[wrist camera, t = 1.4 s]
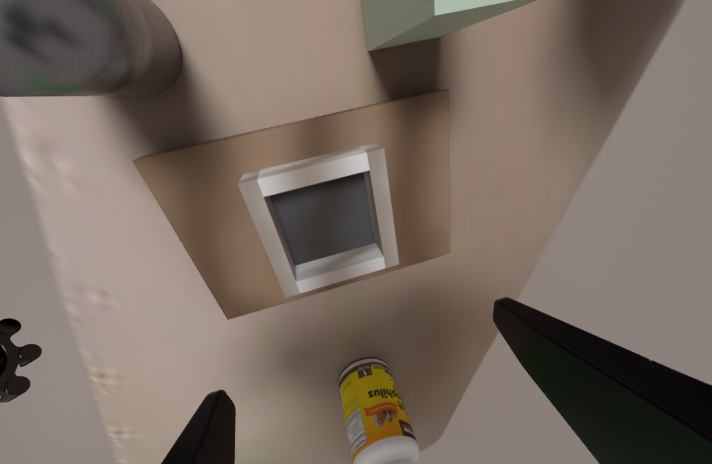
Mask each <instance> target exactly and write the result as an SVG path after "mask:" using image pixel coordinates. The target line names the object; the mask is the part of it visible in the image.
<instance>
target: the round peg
mask: <svg viewBox="0 0 712 464" xmlns="http://www.w3.org/2000/svg"><path fill="white" fill-rule="evenodd" d="M181 61H182V56H181V48H180V44H179V41H178V37H177V35H176V33H175V30H174V29H173V27H172V25H171V23H170V22H169V20H168V19H167V17H166V16H165V15H164V13H163V12H162V11H161V10H160V9H159V8H158V7H157V6H156V5H155V4H154V3H153V2H152V1H151V0H0V96H3V97H21V96H147V95H155V94H158V93H161V92H163V91H165V90H167V89H168V88H169V87H170V86H172V84H173V83H174V82H175V81H176V79H177V77H178V75H179V72H180V69H181Z"/></svg>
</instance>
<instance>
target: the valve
mask: <svg viewBox="0 0 712 464" xmlns="http://www.w3.org/2000/svg"><path fill="white" fill-rule="evenodd" d="M20 328H21V324H20V322H19V321H18V320H16V319H11V318H9V319H3V320H1V321H0V396H1V398H0V402H2V403H3V402H8V401H11V400H13V399H14V398H16V397H18V396H20V395H21V394H23V393H25V392H26V391H27V390H28V389H29V387H30V381H29V379H27V378H26V377H23V376H16V374H15V371H16V368H17V366H18V364H20V367H23V366H25V365H27V364H28V363H30V362H32V361H34V360H35V359H37V358H38V357H39V356H40V355H41V353H42V350H41V348H40V347H39V346H38V345H35V344H28V345H25V346H23V347H17V346H15V345H14V344H13V343H12V342H11V340H10V337H11V336H12V335H13V334H15V333H17V332H18V331H19V330H20Z"/></svg>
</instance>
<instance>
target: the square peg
mask: <svg viewBox="0 0 712 464" xmlns="http://www.w3.org/2000/svg"><path fill="white" fill-rule="evenodd" d="M534 1H537V0H361V5H362V12H363V19H364V27H365V34H366V42H367V49H368V51H373V50H378V49H383V48H388V47H392V46H397V45H402V44H407V43H412V42H417V41H422V40H427V39H432V38H437V37H441V36H444V35H447V34H449V33H452V32H455V31H457V30H460V29H462V28H465V27H468V26H470V25H473V24H476V23H478V22H481V21H484V20H486V19H489V18H492V17H494V16H497V15H500V14H502V13H505V12H508V11H510V10H513V9H515V8H518V7H521V6H523V5H526V4H529V3H531V2H534Z"/></svg>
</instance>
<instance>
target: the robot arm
mask: <svg viewBox="0 0 712 464" xmlns="http://www.w3.org/2000/svg"><path fill="white" fill-rule="evenodd" d="M493 320H494V323H495V325H496V326H497V328H498V329H499V331H500V333H501V334H502V336H503V337H504V339H505V340H506V342H507V343H508V345H509V346H510V348H511V349H512V351H513V353H514V354H515V356H516V357H517V359H518V360H519V362H520V363H521V364H522V366H523V367H524V369H525V370H526V371H527V373H528V374H529V375H530V376H531V378H532V379H533V380H534V381H535V383H536V384H537V385H538V386H539V388H540V389H541V390H542V392H543V393H544V394H545V395H546V397H547V398H548V399H549V400H550V402H551V403H552V404H553V406H554V407H555V408H556V409H557V411H558V412H559V413H560V414H561V416H562V417H563V418H564V419H565V421H566V422H567V423H568V425H569V426H570V427H571V428H572V430H573V431H574V432H575V433H576V435H577V436H578V437H579V438H580V440H581V441H582V442H583V443H584V444H585V446H586V447H587V449H588V450H589V451H590V452H591V454H592V455H593V456H594V457H595V459H596V460H597V461H598V462H599V464H712V385H710V384H707V383H704V382H702V381H700V380H697V379H695V378H692V377H690V376H688V375H685V374H683V373H681V372H678V371H676V370H673V369H671V368H669V367H666V366H664V365H662V364H660V363H657V362H655V361H650V360H649V359H648V358H646V357H643V356H641V355H639V354H636V353H634V352H632V351H630V350H627V349H625V348H623V347H621V346H618V345H616V344H613V343H611V342H609V341H607V340H605V339H602V338H600V337H598V336H595V335H593V334H591V333H588V332H586V331H584V330H582V329H579V328H577V327H574V326H572V325H570V324H568V323H565V322H563V321H561V320H559V319H556V318H554V317H552V316H550V315H547V314H545V313H543V312H540V311H538V310H536V309H534V308H531V307H529V306H527V305H524V304H522V303H520V302H517V301H515V300H513V299H511V298H507V297H505V298H501V299H498V300H496V301H495V302H494V310H493ZM235 416H236V410H235V405H234V403H233V402H232V400H231V399H230V398H229V396H228V395H227V394H226V392H225V391H224V390H218V391H215V392H212V393H210V394H208V395H207V396H206V397H205V399H204V400H203V402H202V403H201V405H200V406H199V408H198V409H197V411H196V412H195V414H194V415H193V417H192V418H191V420H190V421H189V423H188V424H187V426H186V427H185V429H184V430H183V432H182V433H181V435H180V436H179V438H178V439H177V441H176V442H175V444H174V445H173V447H172V448H171V450H170V451H169V453H168V454H167V456H166V457H165V459H164V460H163V462H162V463H161V464H235Z"/></svg>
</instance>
